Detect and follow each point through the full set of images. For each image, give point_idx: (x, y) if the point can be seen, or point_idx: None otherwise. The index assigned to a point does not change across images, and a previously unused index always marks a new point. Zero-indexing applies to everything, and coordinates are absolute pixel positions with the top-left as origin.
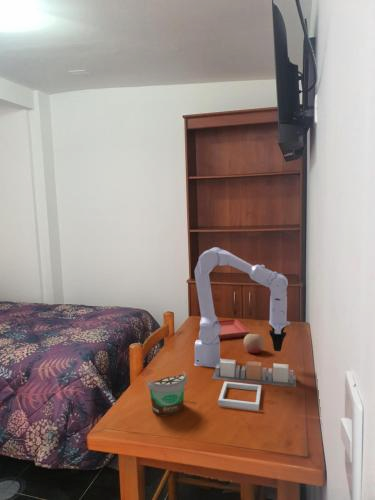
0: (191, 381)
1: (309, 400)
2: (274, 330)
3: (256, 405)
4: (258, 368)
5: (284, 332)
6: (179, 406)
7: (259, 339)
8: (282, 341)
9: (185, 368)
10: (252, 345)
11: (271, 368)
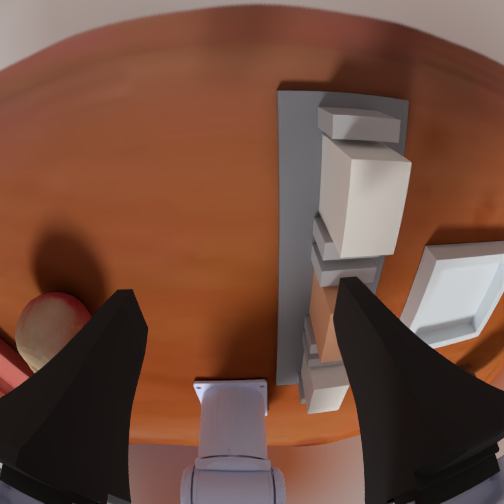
0: (353, 396)
1: (478, 67)
2: (119, 436)
3: None
4: None
5: (465, 456)
6: (471, 373)
7: (49, 345)
8: (436, 351)
9: (281, 418)
10: None
11: (327, 246)
